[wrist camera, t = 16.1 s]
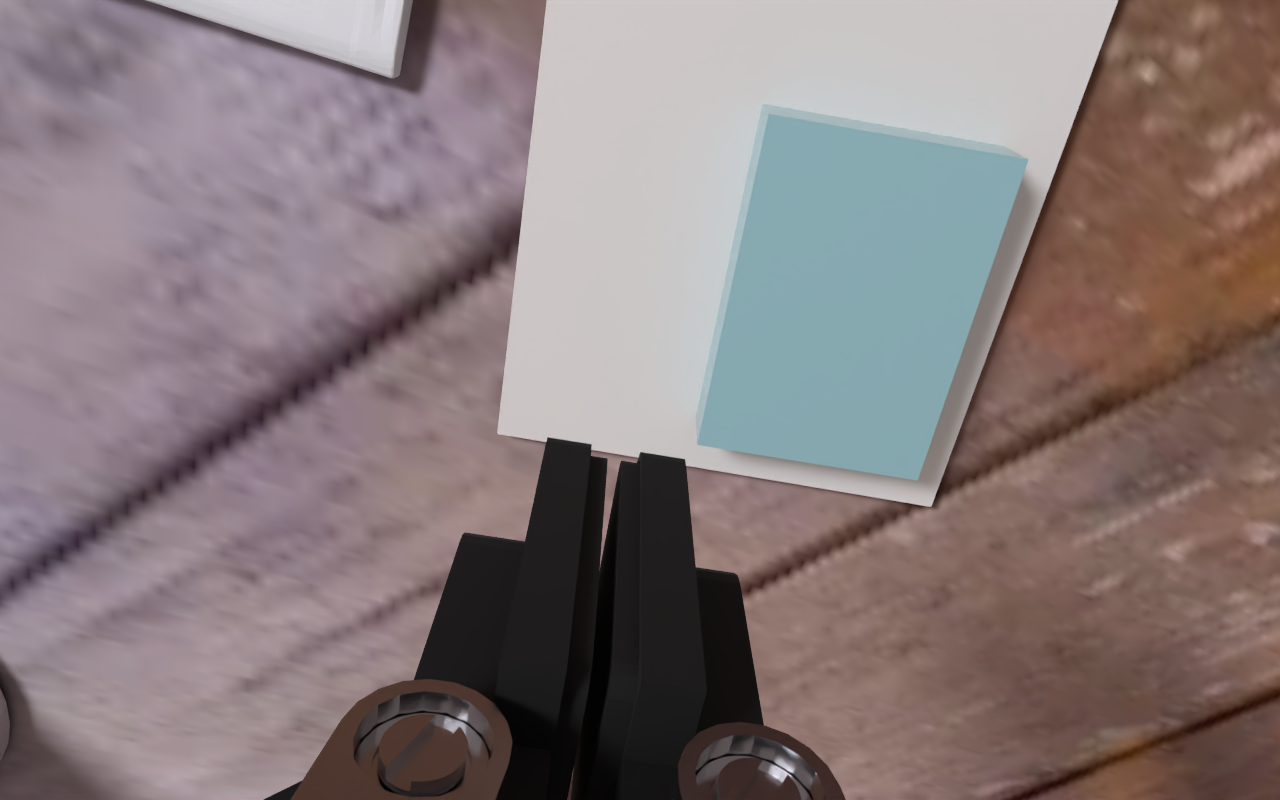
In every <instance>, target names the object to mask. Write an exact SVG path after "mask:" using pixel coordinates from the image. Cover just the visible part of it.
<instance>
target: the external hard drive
mask: <svg viewBox="0 0 1280 800" xmlns="http://www.w3.org/2000/svg"><path fill="white" fill-rule="evenodd" d="M146 1H149V2H152V3H156V4H159V5H162V6H165V7H168V8H171V9H174V10H178V11H181V12H184V13H187V14H190V15H193V16H196V17H199V18H203V19H206V20H209V21H212V22H215V23H218V24H221V25H225V26H228V27H231V28H234V29H237V30H240V31H243V32H247V33H250V34H253V35H256V36H259V37H262V38H265V39H269V40H272V41H275V42H278V43H281V44H285V45H288V46H291V47H294V48H297V49H300V50H303V51H307V52H310V53H313V54H316V55H319V56H322V57H326V58H329V59H332V60H335V61H339V62H342V63H345V64H348V65H352V66H355V67H357V68H361V69H364V70H367V71H370V72H373V73H376V74H379V75H382V76H385V77H388V78H392V79H393V78H395V77H398V76H400V72H401V66H402V60H403V54H404V48H405V42H406V37H407V31H408V26H409V20H410V14H411V9H412V3H413V0H146Z"/></svg>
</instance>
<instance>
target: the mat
mask: <svg viewBox="0 0 1280 800" xmlns="http://www.w3.org/2000/svg"><path fill="white" fill-rule="evenodd" d="M1117 3H1118V0H547V3H546V12H545V21H544V30H543V38H542V47H541V56H540V65H539V73H538V82H537V91H536V100H535V108H534V117H533V126H532V135H531V143H530V152H529V161H528V169H527V178H526V187H525V196H524V204H523V213H522V222H521V231H520V239H519V248H518V257H517V266H516V274H515V283H514V292H513V301H512V309H511V318H510V327H509V335H508V344H507V353H506V362H505V370H504V379H503V388H502V397H501V405H500V414H499V423H498V432H497V434H501V435H507V436H513V437H519V438H525V439H531V440H537V441H542V442H547V437H549V438H556V439H562V440H568V441H574V442H581V443H587V444H592V447H591V450H596V451H602V452H608V453H614V454H620V455H626V456H632V457H637V458H638V457H639V454H640V452H644V453H650V454H656V455H662V456H669V457H675V458H681V459H685V462H686V466H691V467H697V468H703V469H709V470H715V471H721V472H726V473H732V474H738V475H744V476H750V477H756V478H762V479H768V480H774V481H780V482H786V483H792V484H798V485H804V486H810V487H816V488H821V489H827V490H833V491H839V492H845V493H851V494H857V495H863V496H869V497H875V498H881V499H887V500H893V501H899V502H905V503H911V504H916V505H922V506H928V507H931V506H932V503H933V501H934V498H935V495H936V493H937V490H938V487H939V485H940V482H941V479H942V476H943V474H944V471H945V468H946V466H947V463H948V460H949V457H950V455H951V452H952V449H953V447H954V444H955V441H956V439H957V436H958V433H959V430H960V428H961V425H962V422H963V420H964V417H965V414H966V411H967V409H968V406H969V403H970V401H971V398H972V395H973V392H974V390H975V387H976V384H977V382H978V379H979V376H980V374H981V371H982V368H983V365H984V363H985V360H986V357H987V355H988V352H989V349H990V346H991V344H992V341H993V338H994V336H995V333H996V330H997V327H998V325H999V322H1000V319H1001V317H1002V314H1003V311H1004V309H1005V306H1006V303H1007V300H1008V298H1009V295H1010V292H1011V290H1012V287H1013V284H1014V281H1015V279H1016V276H1017V273H1018V271H1019V268H1020V265H1021V263H1022V260H1023V257H1024V254H1025V252H1026V249H1027V246H1028V244H1029V241H1030V238H1031V235H1032V233H1033V230H1034V227H1035V225H1036V222H1037V219H1038V216H1039V214H1040V211H1041V208H1042V206H1043V203H1044V200H1045V198H1046V195H1047V192H1048V189H1049V187H1050V184H1051V181H1052V179H1053V176H1054V173H1055V170H1056V168H1057V165H1058V162H1059V160H1060V157H1061V154H1062V151H1063V149H1064V146H1065V143H1066V141H1067V138H1068V135H1069V133H1070V130H1071V127H1072V124H1073V122H1074V119H1075V116H1076V114H1077V111H1078V108H1079V105H1080V103H1081V100H1082V97H1083V95H1084V92H1085V89H1086V87H1087V84H1088V81H1089V78H1090V76H1091V73H1092V70H1093V68H1094V65H1095V62H1096V59H1097V57H1098V54H1099V51H1100V49H1101V46H1102V43H1103V40H1104V38H1105V35H1106V32H1107V30H1108V27H1109V24H1110V22H1111V19H1112V16H1113V13H1114V11H1115V8H1116V5H1117ZM762 104H768V105H774V106H779V107H785V108H791V109H796V110H802V111H808V112H813V113H819V114H825V115H831V116H836V117H842V118H848V119H853V120H859V121H865V122H870V123H876V124H882V125H887V126H893V127H899V128H905V129H910V130H916V131H922V132H927V133H933V134H939V135H944V136H950V137H956V138H961V139H967V140H973V141H978V142H984V143H990V144H996V145H1001V146H1005V147H1007V148H1009V149H1010V150H1012V151H1014V152H1016V153H1018V154H1020V155H1022V156H1023V157H1025V158H1027V159H1029V160H1028V163H1027V166H1026V169H1025V172H1024V174H1023V177H1022V180H1021V183H1020V186H1019V189H1018V192H1017V195H1016V198H1015V200H1014V203H1013V206H1012V209H1011V212H1010V215H1009V218H1008V221H1007V224H1006V226H1005V229H1004V232H1003V235H1002V238H1001V241H1000V244H999V247H998V250H997V253H996V255H995V258H994V261H993V264H992V267H991V270H990V273H989V276H988V279H987V281H986V284H985V287H984V290H983V293H982V296H981V299H980V302H979V305H978V307H977V310H976V313H975V316H974V319H973V322H972V325H971V328H970V331H969V333H968V336H967V339H966V342H965V345H964V348H963V351H962V354H961V357H960V359H959V362H958V365H957V368H956V371H955V374H954V377H953V380H952V383H951V385H950V388H949V391H948V394H947V397H946V400H945V403H944V406H943V409H942V411H941V414H940V417H939V420H938V423H937V426H936V429H935V432H934V435H933V437H932V440H931V443H930V446H929V449H928V452H927V455H926V458H925V461H924V463H923V466H922V469H921V472H920V475H919V478H918V481H917V480H911V479H905V478H899V477H892V476H886V475H880V474H874V473H868V472H861V471H855V470H849V469H843V468H837V467H831V466H824V465H818V464H812V463H806V462H800V461H794V460H787V459H781V458H775V457H769V456H763V455H756V454H750V453H744V452H738V451H732V450H726V449H719V448H713V447H707V446H701V445H697V431H696V413H697V408H698V404H699V399H700V394H701V390H702V385H703V380H704V376H705V371H706V366H707V361H708V357H709V352H710V347H711V343H712V338H713V333H714V328H715V324H716V319H717V314H718V310H719V305H720V300H721V296H722V291H723V286H724V281H725V277H726V272H727V267H728V263H729V258H730V253H731V249H732V244H733V239H734V234H735V230H736V225H737V220H738V216H739V211H740V206H741V201H742V197H743V192H744V187H745V183H746V178H747V173H748V169H749V164H750V159H751V154H752V150H753V145H754V140H755V136H756V131H757V126H758V121H759V117H760V112H761V107H762Z"/></svg>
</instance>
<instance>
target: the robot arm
mask: <svg viewBox="0 0 1280 800" xmlns="http://www.w3.org/2000/svg"><path fill="white" fill-rule="evenodd" d="M591 447H592V444H587V443H581V442H574V441H568V440H562V439H556V438H549V437H547V442H546V446H545V451H544V456H543V460H542V465H541V470H540V474H539V479H538V484H537V488H536V493H535V498H534V503H533V507H532V512H531V517H530V521H529V526H528V531H527V535H526V540H525V542H524V541H517V540H511V539H504V538H497V537H491V536H484V535H477V534H471V533H464V534H463V535H462V538H461V540H460V543H459V546H458V549H457V552H456V555H455V558H454V561H453V564H452V567H451V570H450V573H449V576H448V579H447V582H446V585H445V588H444V591H443V594H442V597H441V600H440V603H439V606H438V609H437V612H436V615H435V618H434V621H433V624H432V627H431V630H430V633H429V636H428V639H427V642H426V645H425V648H424V651H423V654H422V657H421V660H420V663H419V666H418V669H417V672H416V675H415V678H414V680H411V681H402V682H399V683H396V684H393V685H390V686H386V687H383V688H380V689H378V690H376V691H374V692H373V693H371V694H370V695H368V696H366V697H365V698H363V699H361V700H360V701H358V702H357V703H356V704H355V705H354V706H353V707H352V708H351V710H350V711H349V712H348V713H347V714H346V715H345V716H344V717H343V718H342V720H341V721H340V723H339V724H338V726H337V727H336V729H335V731H334V732H333V734H332V735H331V737H330V738H329V740H328V742H327V743H326V745H325V746H324V748H323V749H322V751H321V752H320V754H319V756H318V757H317V759H316V760H315V762H314V763H313V765H312V767H311V768H310V770H309V771H308V773H307V774H306V776H305V778H304V779H303V781H301V782H299V783H297V784H295V785H293V786H290V787H288V788H286V789H284V790H282V791H280V792H278V793H276V794H274V795H272V796H270V797H268V798H266V799H264V800H567V797H568V792H569V787H570V782H571V777H572V772H573V781H572V792H571V800H846V799H845V797H844V795H843V792H842V790H841V787H840V786H839V784H838V782H837V781H836V779H835V777H834V776H833V774H832V772H831V771H830V769H829V767H828V766H827V765H826V764H825V763H824V762H823V761H822V760H821V759H820V758H819V757H818V756H817V755H816V754H815V753H814V752H813V751H812V750H811V749H810V748H809V747H807V746H805V745H804V744H802V743H801V742H799V741H798V740H796V739H794V738H793V737H791V736H790V735H788V734H786V733H783V732H780V731H778V730H775V729H772V728H770V727H767V726H764V724H763V718H762V712H761V706H760V700H759V694H758V688H757V682H756V676H755V670H754V664H753V658H752V652H751V646H750V640H749V634H748V628H747V622H746V616H745V610H744V604H743V598H742V592H741V586H740V582H739V578H738V576H737V575H736V574H735V573H730V572H723V571H716V570H710V569H703V568H696V567H695V557H694V546H693V535H692V525H691V514H690V503H689V493H688V482H687V471H686V462H685V459H681V458H675V457H669V456H662V455H656V454H650V453H644V452H640V454H639V457H638V461H637V463H632V462H626V461H621V463H620V467H619V472H618V477H617V482H616V488H615V493H614V498H613V503H612V508H611V514H610V519H609V524H608V529H607V535H606V540H605V545H604V550H603V555H602V561H601V566H600V555H601V542H602V528H603V514H604V501H605V487H606V474H607V458H600V457H594V456H591ZM599 569H600V571H599ZM9 730H10V720H9V715H8V710H7V704H6V700H5V698H4V696H3V693H2V691H1V689H0V761H1V760H2V757H3V755H4V753H5V750H6V748H7V745H8V742H9ZM573 767H574V769H573Z"/></svg>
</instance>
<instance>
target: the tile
mask: <svg viewBox="0 0 1280 800" xmlns="http://www.w3.org/2000/svg"><path fill="white" fill-rule="evenodd" d="M1028 160H1029V159H1027V158H1025V157H1023V156H1022V155H1020V154H1018V153H1016V152H1014V151H1012V150H1010V149H1009V148H1007V147H1005V146H1001V145H996V144H990V143H984V142H978V141H973V140H967V139H961V138H956V137H950V136H944V135H939V134H933V133H927V132H922V131H916V130H910V129H905V128H899V127H893V126H887V125H882V124H876V123H870V122H865V121H859V120H853V119H848V118H842V117H836V116H831V115H825V114H819V113H813V112H808V111H802V110H796V109H791V108H785V107H779V106H774V105H768V104H762V107H761V112H760V117H759V121H758V126H757V131H756V136H755V140H754V145H753V150H752V154H751V159H750V164H749V169H748V173H747V178H746V183H745V187H744V192H743V197H742V201H741V206H740V211H739V216H738V220H737V225H736V230H735V234H734V239H733V244H732V249H731V253H730V258H729V263H728V267H727V272H726V277H725V281H724V286H723V291H722V296H721V300H720V305H719V310H718V314H717V319H716V324H715V328H714V333H713V338H712V343H711V347H710V352H709V357H708V361H707V366H706V371H705V376H704V380H703V385H702V390H701V394H700V399H699V404H698V408H697V413H696V431H697V445H701V446H707V447H713V448H719V449H726V450H732V451H738V452H744V453H750V454H756V455H763V456H769V457H775V458H781V459H787V460H794V461H800V462H806V463H812V464H818V465H824V466H831V467H837V468H843V469H849V470H855V471H861V472H868V473H874V474H880V475H886V476H892V477H899V478H905V479H911V480H917V481H918V478H919V475H920V472H921V469H922V466H923V463H924V461H925V458H926V455H927V452H928V449H929V446H930V443H931V440H932V437H933V435H934V432H935V429H936V426H937V423H938V420H939V417H940V414H941V411H942V409H943V406H944V403H945V400H946V397H947V394H948V391H949V388H950V385H951V383H952V380H953V377H954V374H955V371H956V368H957V365H958V362H959V359H960V357H961V354H962V351H963V348H964V345H965V342H966V339H967V336H968V333H969V331H970V328H971V325H972V322H973V319H974V316H975V313H976V310H977V307H978V305H979V302H980V299H981V296H982V293H983V290H984V287H985V284H986V281H987V279H988V276H989V273H990V270H991V267H992V264H993V261H994V258H995V255H996V253H997V250H998V247H999V244H1000V241H1001V238H1002V235H1003V232H1004V229H1005V226H1006V224H1007V221H1008V218H1009V215H1010V212H1011V209H1012V206H1013V203H1014V200H1015V198H1016V195H1017V192H1018V189H1019V186H1020V183H1021V180H1022V177H1023V174H1024V172H1025V169H1026V166H1027V163H1028Z"/></svg>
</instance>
